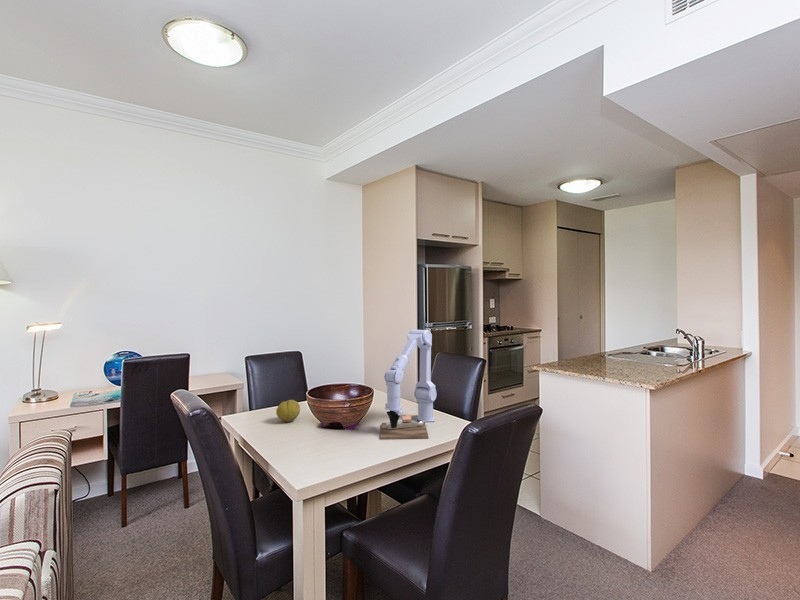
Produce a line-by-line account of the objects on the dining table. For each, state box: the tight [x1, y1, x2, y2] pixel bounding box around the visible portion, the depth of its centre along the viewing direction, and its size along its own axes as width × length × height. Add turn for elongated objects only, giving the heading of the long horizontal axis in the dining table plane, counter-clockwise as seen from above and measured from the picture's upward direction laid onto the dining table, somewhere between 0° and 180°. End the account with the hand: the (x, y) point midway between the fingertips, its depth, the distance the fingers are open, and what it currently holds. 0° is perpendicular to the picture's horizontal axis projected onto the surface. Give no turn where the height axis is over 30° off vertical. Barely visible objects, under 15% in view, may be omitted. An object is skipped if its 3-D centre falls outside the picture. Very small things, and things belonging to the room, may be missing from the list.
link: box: [385, 419, 424, 429], centre depth 184 cm, size 17×4×2 cm, turn 105°
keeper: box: [401, 414, 421, 422], centre depth 187 cm, size 9×7×4 cm
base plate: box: [380, 422, 429, 440], centre depth 182 cm, size 20×20×1 cm
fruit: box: [275, 399, 301, 423], centre depth 198 cm, size 11×12×10 cm
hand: (393, 427), depth 180 cm, fingers closed
